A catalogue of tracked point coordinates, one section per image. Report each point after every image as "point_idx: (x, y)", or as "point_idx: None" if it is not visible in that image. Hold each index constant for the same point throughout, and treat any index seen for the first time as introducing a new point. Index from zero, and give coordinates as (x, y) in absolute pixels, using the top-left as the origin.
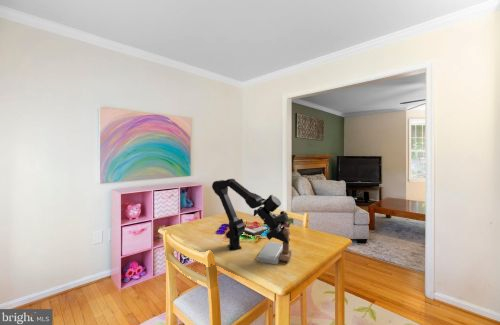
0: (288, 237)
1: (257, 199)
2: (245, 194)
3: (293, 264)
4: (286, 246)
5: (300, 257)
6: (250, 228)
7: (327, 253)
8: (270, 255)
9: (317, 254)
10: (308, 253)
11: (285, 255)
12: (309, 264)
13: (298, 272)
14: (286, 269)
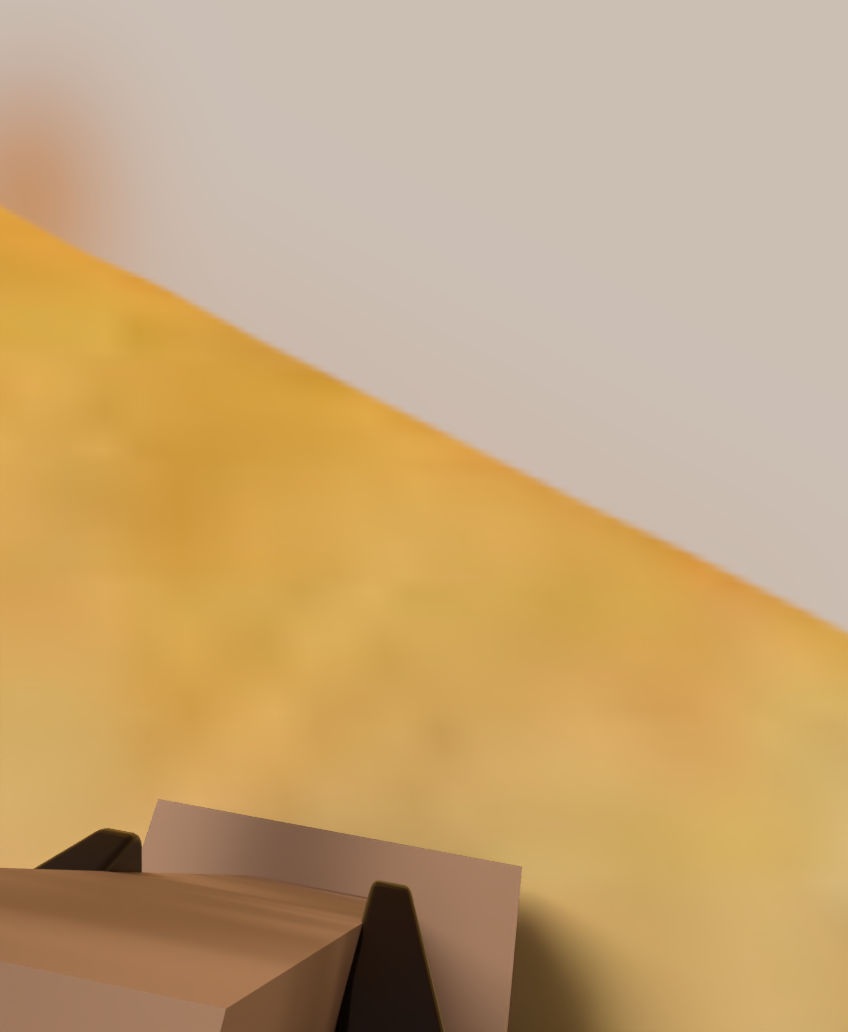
0: (232, 909)
1: None
2: None
3: (500, 766)
4: None
5: (198, 637)
6: None
7: (50, 270)
8: None
9: (79, 383)
10: (37, 503)
11: (486, 971)
12: (432, 503)
13: (753, 673)
14: (743, 908)
